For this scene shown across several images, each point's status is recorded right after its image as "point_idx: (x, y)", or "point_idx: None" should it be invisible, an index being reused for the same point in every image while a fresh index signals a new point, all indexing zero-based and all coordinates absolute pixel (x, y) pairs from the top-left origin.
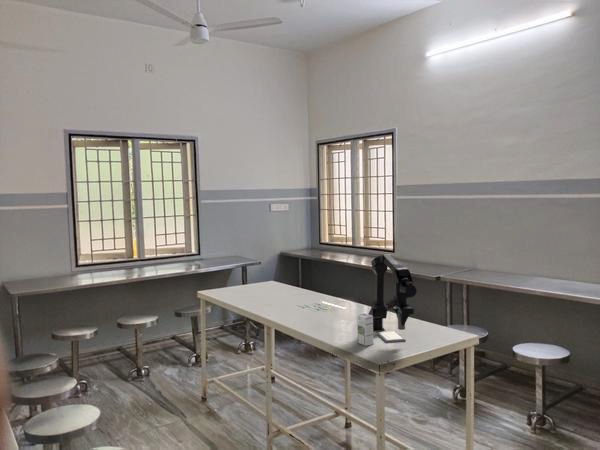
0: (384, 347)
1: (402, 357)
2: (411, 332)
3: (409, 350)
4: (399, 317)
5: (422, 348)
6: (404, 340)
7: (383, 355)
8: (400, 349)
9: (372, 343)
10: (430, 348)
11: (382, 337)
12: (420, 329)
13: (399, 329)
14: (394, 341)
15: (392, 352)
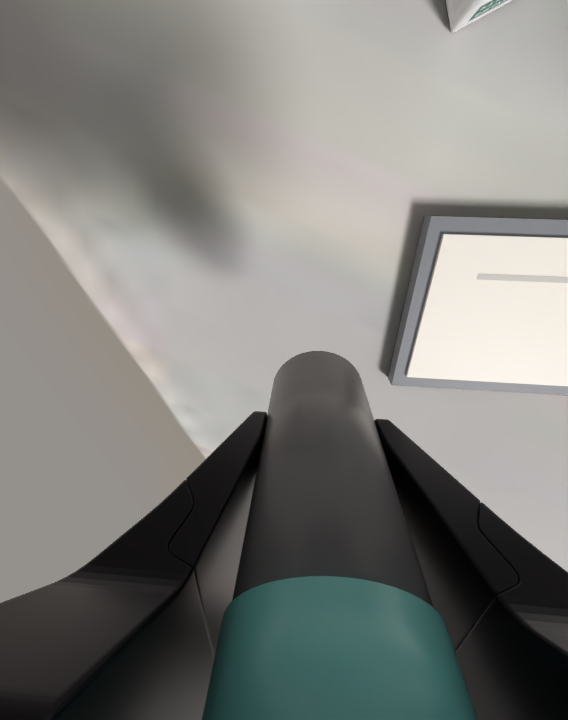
0: (300, 140)
1: (29, 208)
2: (543, 480)
3: (190, 325)
4: (280, 507)
5: (220, 412)
6: (390, 375)
7: (59, 21)
8: (220, 271)
9: (449, 8)
10: (214, 446)
11: (551, 219)
12: (559, 535)
13: (293, 357)
14: (407, 297)
15: (150, 168)
